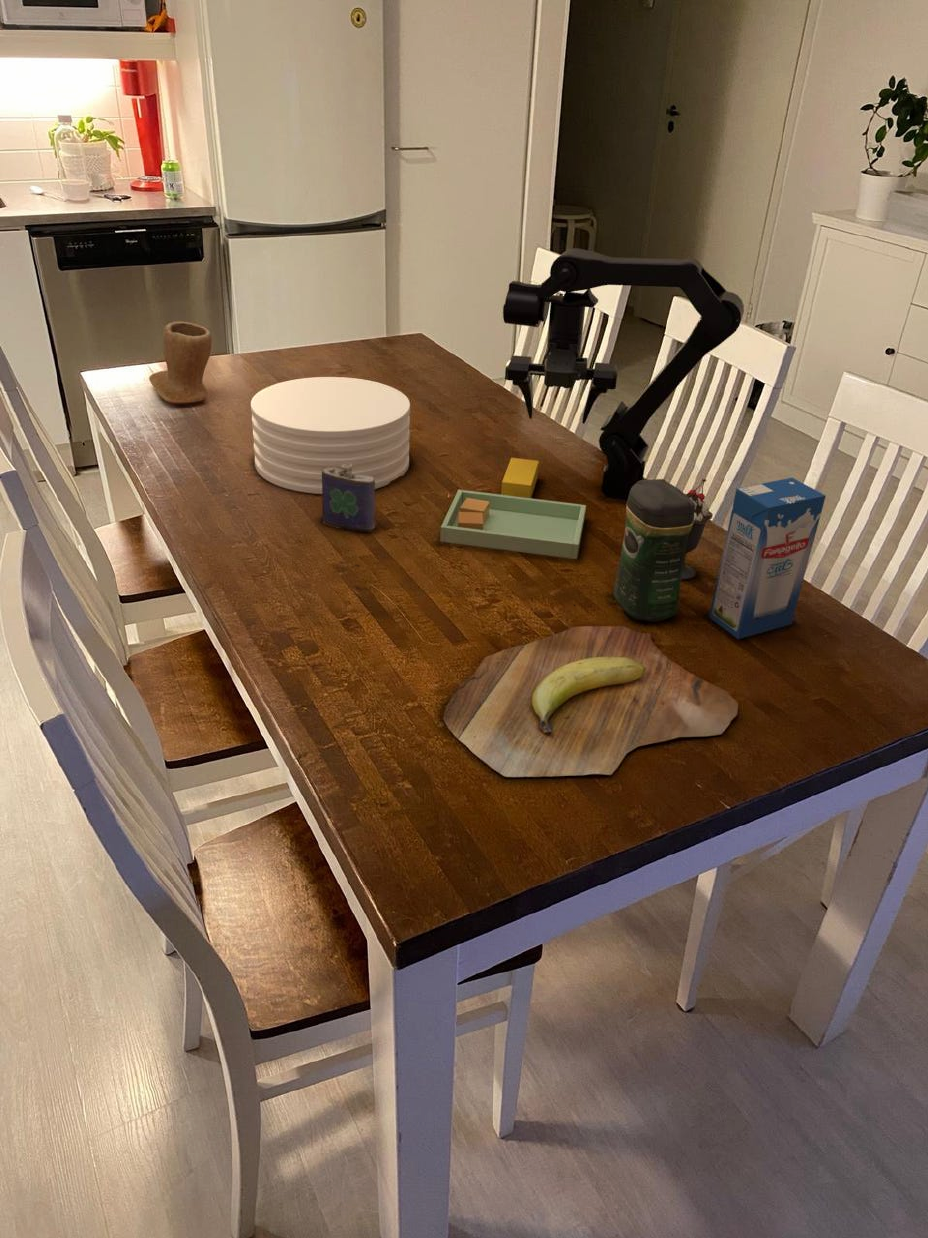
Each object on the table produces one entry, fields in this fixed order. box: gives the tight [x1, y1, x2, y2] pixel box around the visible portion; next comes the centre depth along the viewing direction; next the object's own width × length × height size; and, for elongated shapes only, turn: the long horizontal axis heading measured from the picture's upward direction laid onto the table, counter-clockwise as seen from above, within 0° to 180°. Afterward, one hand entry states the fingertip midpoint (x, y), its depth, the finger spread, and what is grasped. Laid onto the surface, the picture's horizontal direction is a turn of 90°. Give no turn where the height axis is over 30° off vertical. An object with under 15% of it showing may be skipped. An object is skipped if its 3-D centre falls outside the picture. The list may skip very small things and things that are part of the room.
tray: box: [439, 489, 587, 560], centre depth 157 cm, size 22×15×3 cm
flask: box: [321, 463, 376, 534], centre depth 155 cm, size 9×3×11 cm, turn 68°
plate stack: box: [250, 376, 411, 495], centre depth 176 cm, size 28×28×12 cm
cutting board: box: [442, 625, 739, 778], centre depth 119 cm, size 35×27×4 cm
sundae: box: [681, 478, 713, 581], centre depth 146 cm, size 7×7×15 cm
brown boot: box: [148, 321, 213, 404], centre depth 201 cm, size 15×12×15 cm
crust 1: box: [460, 498, 490, 523], centre depth 160 cm, size 4×4×2 cm
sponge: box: [500, 457, 540, 499], centre depth 171 cm, size 5×11×4 cm, turn 169°
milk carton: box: [708, 477, 827, 640], centre depth 133 cm, size 10×6×20 cm, turn 117°
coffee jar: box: [613, 478, 695, 623], centre depth 135 cm, size 10×8×19 cm
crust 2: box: [458, 512, 484, 530], centre depth 156 cm, size 4×4×2 cm
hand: (557, 420), depth 170 cm, fingers open, 9 cm apart
